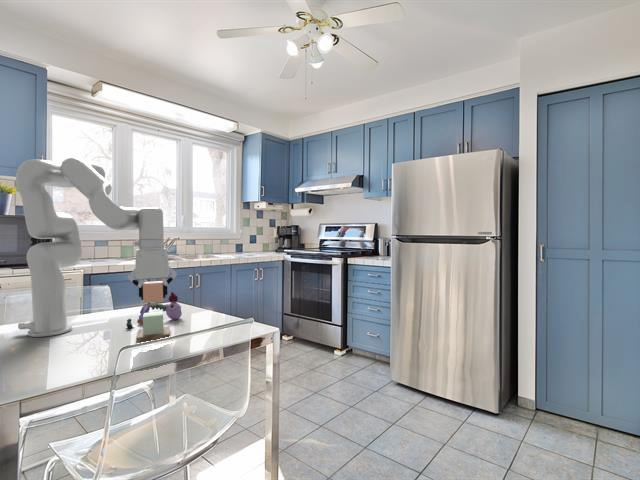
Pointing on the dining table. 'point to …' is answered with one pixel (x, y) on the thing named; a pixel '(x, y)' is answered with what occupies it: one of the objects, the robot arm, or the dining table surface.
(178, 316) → the toy
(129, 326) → the sculpture
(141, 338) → the board
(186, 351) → the dining table surface
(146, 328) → the sage cube
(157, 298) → the terracotta cube
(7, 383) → the dining table surface
